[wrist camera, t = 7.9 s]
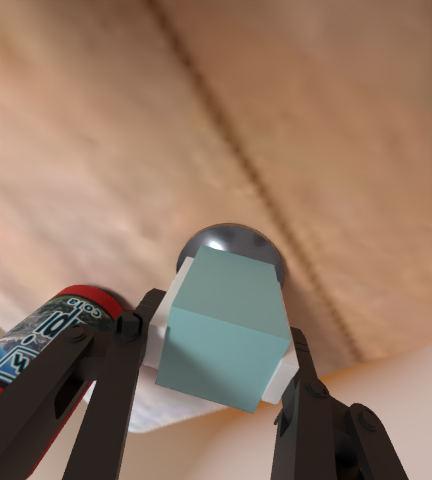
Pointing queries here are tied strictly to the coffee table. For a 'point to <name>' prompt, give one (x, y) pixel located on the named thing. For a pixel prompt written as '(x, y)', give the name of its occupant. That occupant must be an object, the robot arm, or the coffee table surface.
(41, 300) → the coffee table surface
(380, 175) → the coffee table surface
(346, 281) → the coffee table surface
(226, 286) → the teal cube
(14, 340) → the beverage can
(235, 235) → the chrome dome disc
